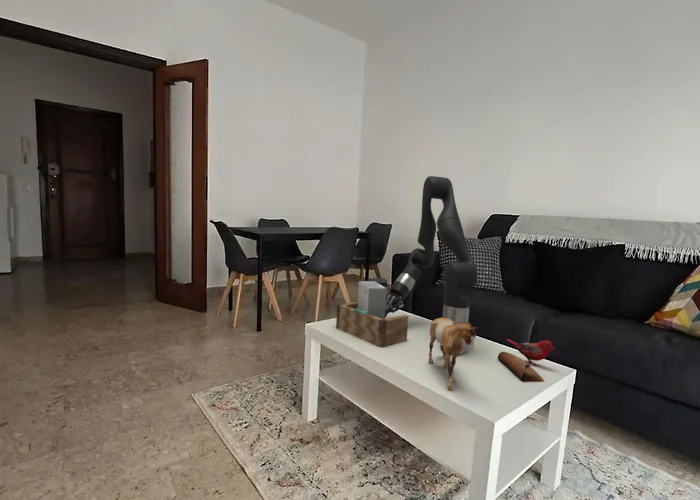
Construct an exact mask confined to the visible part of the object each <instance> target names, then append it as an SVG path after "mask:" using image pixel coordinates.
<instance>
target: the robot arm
mask: <svg viewBox="0 0 700 500" xmlns="http://www.w3.org/2000/svg"><path fill="white" fill-rule="evenodd" d="M421 197H422V200H421V219H420V226H419V232H418V237H417V243H418V245H420V246H422V247H423V249H422V248H419V247H417V248H415V249H413V250H412V251H411V253H410V255H409V258H408V261H407V264H406V266H405V268H404V270H402V272H401V273H400V275H399V276H398V277H397V278H396V280H395V281H394V283H393V284H392V285H391V287H390V288H389V292H388V293H386V303H385V318H386V317H387V316H388V314H390V313H391V314H393V313H396V312H397V311H399V310H401V309H403V308H404V307H405V305H404V304H403V301H404V300H405V299H406V297H407V296H408V295H409V293H410V292H411V290H412V289H413V287H414V285H415V284H416V282H417V281H418V279H419V277H420V276H421V273H422V272H421V269H420V268H419V267H418V265H419V266H421V267H424V268H430V267H432V266H433V265H434V262H435V258H436V257H435V239H436V238H435V237H436V234H437V231H438V235H439V239H440V240H441V242H442V243H443V244H444V246H446V247H447V248H448V249H449V251H451V252H452V253H453V254H454V256H455V257H456V260H457V261H449V262H447V264H446V266H445V267H444V272H443V275H444V276H443V310H442V318H448V319H451V320H452V321H453V322H454V324H456V323H458V322H468V323H469V315H470V305H471V302H470V299H469V297H466V296H465V295H462V294H460V293H459V292H458V288H473V287H475V286H476V285H477V283H478V270H477V267H476V264H475V261H474V259H473V256H472V254H471V251H470V250H469V247H468V244H467V241H466V237H465V233H464V227H463V225H462V223H461V222H462V221H461V219H460V215H459V212H458V208H457V205H456V200H455V194H454V187H453V182H452V181H451V180H450V179H449V178H448V177H444V176H435V175H434V176H433V175H429V176H427V177H426V179H425V180H424V183H423V187H422V196H421ZM433 199H434V200H441V201H442V204H443V208H442V209H441V212H440V214H439V216H438V217H437V220H436V219H435V216H434V214H433V210H432V200H433ZM463 344H464V346H463V349H462V350H461V351H460V353H459V355H458V356H460V355H463V354H466V353H468V351H469V349H468V345H467V344H466V342H465V340H464V339H463ZM439 345H440V346H439V349H440V351H442V349H441V344H440V343H439Z"/></svg>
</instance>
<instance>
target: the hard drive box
mask: <svg viewBox="0 0 700 500" xmlns="http://www.w3.org/2000/svg"><path fill="white" fill-rule="evenodd" d="M386 295H387V290H386V288H385V287H383V286H382V285H380V284H378V283H377V282H375V281H367V280H364V281H363V280H359V281H358V292H357V301H358V304H357V308H358V309H360V310H363V311H366V312H368V314H370V315H373V316H376V317H379V318H381V319H386V317H385V303H386Z"/></svg>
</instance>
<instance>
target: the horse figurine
mask: <svg viewBox="0 0 700 500" xmlns="http://www.w3.org/2000/svg"><path fill="white" fill-rule="evenodd" d="M477 329H479V327H476V326H475V327H474V326H472V325H471V322H469V321H468V322H458V323H456V324H454V322H453V321H452V320H451V319H448V318H443V317H439V318H435V319H434V320H432V321H431V324H430V330H429V334H430V335H429V336H430V342H429V345H428V347H429V353H428V363H429V364H433V363H434V359H433V354H432V352H433V348H434V343H435V341H437V343H439V345H440V344H441V349H442V350H441V349H440V350H441V352H442V359H443V361H444V362H443V363H442V367H443V369H447V371H448V383H447V390H448V391H452V390H453V383H457V379H456V377H455V372H454V367H455V365H456V363H457V358H458V356H460V355H459V353H460V351H461V350H462V349H463V346H464V344H463V339H464V340H465V342H466V344H467V345H468V351H473V350H474V348H475V338H476V336H477V333H476V330H477ZM451 356H452V357H451Z"/></svg>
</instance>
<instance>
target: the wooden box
mask: <svg viewBox="0 0 700 500" xmlns="http://www.w3.org/2000/svg"><path fill="white" fill-rule="evenodd" d="M357 304H358V300H357V301H352V302H345V303H339V304H337V305H336V318H335V319H336V321H335V323H336V324H335V328H336V329H338V330H340V331H342V332H344V333H346V334H347V333H348V334H350V335H352V336H354V337H356V338H359V339H361V340H363V341H365V342H368V343H370V344H373V345H375V346H377V347H379V348H385V347H389V346H393V345H396V344H401V343H403V342H407V341H408V340H407V339H408V329H409V328H408V327H409V326H408V325H409V315H407V314H402V315H397V316H392V317H387V318H386V317H385V318H384V319H381V318H379V317H376V316H373V315H370V314H368V312H366V311H363V310H360V309H358V308H357Z"/></svg>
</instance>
